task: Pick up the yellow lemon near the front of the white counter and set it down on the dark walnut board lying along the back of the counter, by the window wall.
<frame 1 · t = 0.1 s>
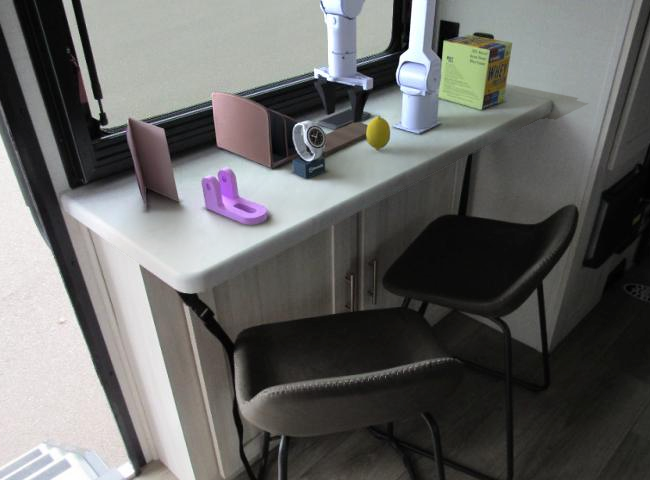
hand: (343, 117, 123), 10 cm above the counter, tool pointing down, fingers open, 7 cm apart
bracket: (239, 212, 111), on the counter
lemon: (377, 150, 134), on the counter
greeting card: (160, 197, 117), on the counter
letter holder: (259, 152, 135), on the counter
cell phone: (344, 120, 150), on the counter
watch: (309, 173, 125), on the counter
protein box: (470, 100, 161), on the counter
back board: (341, 139, 139), on the counter
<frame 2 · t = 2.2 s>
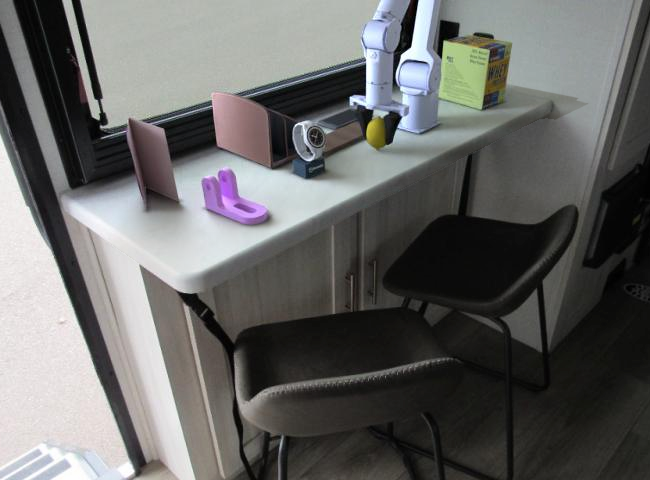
hand: (378, 141, 132), 2 cm above the counter, tool pointing down, fingers closed on lemon, 5 cm apart
lemon: (377, 150, 134), on the counter, touching gripper
everything else where it was.
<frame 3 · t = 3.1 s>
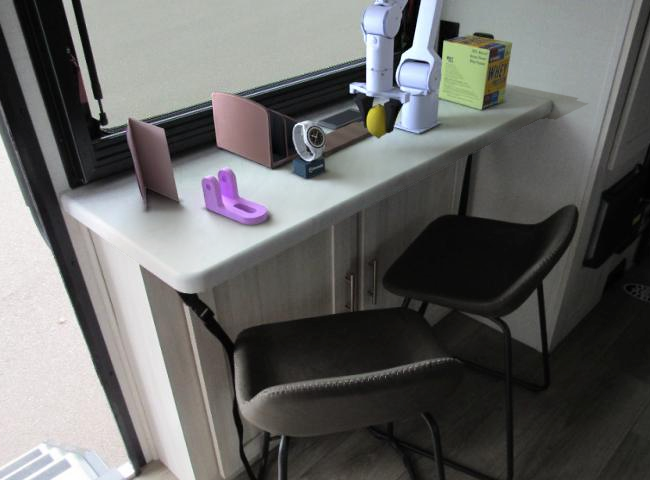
hand: (378, 129, 131), 5 cm above the counter, tool pointing down, fingers closed on lemon, 5 cm apart
lemon: (378, 139, 132), point 3 cm above the counter, touching gripper
everything else where it was.
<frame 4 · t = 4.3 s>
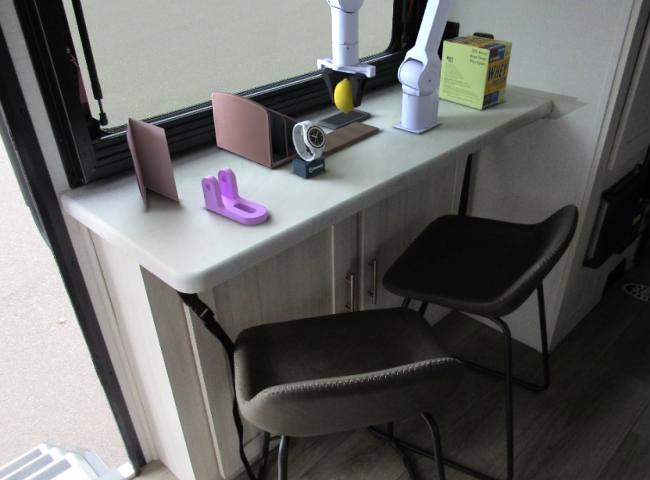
hand: (346, 104, 133), 9 cm above the counter, tool pointing down, fingers closed on lemon, 5 cm apart
lemon: (346, 114, 134), point 7 cm above the counter, touching gripper
everything else where it was.
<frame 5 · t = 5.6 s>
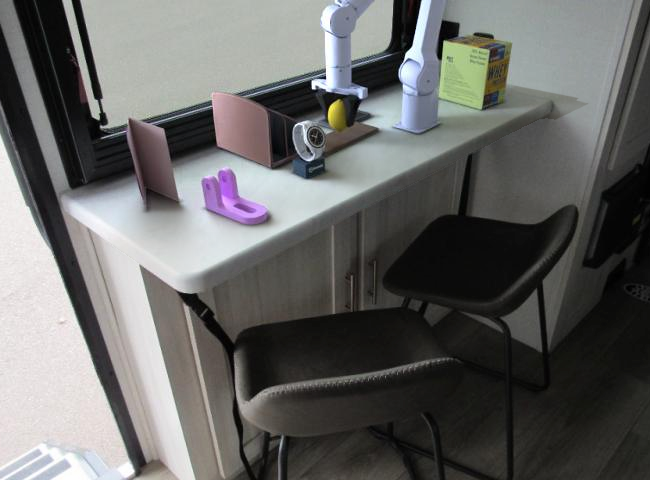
hand: (339, 123, 137), 4 cm above the counter, tool pointing down, fingers closed on lemon, 5 cm apart
lemon: (340, 133, 138), point 2 cm above the counter, touching gripper
everything else where it was.
when the fingers open (3 cm above the counter, at t = 6.5 s): lemon stays where it is, resting on back board.
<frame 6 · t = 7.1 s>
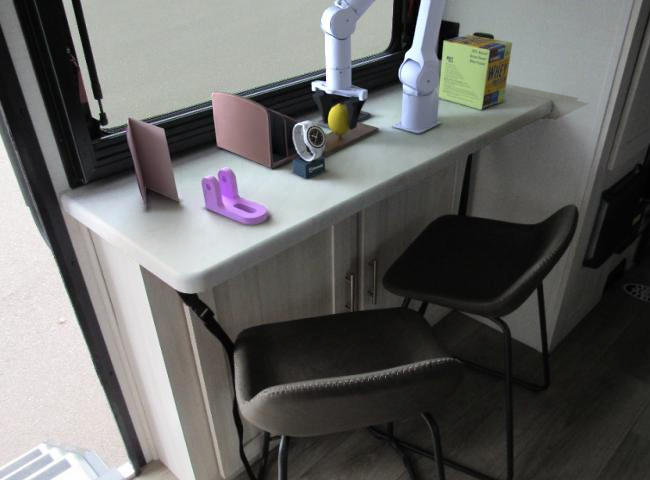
hand: (339, 125, 137), 4 cm above the counter, tool pointing down, fingers open, 7 cm apart
lemon: (340, 137, 139), point 1 cm above the counter, touching back board
everything else where it was.
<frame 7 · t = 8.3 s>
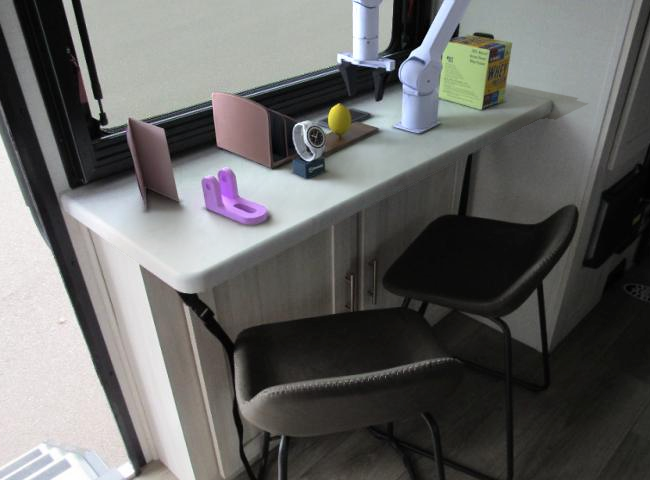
hand: (365, 97, 135), 9 cm above the counter, tool pointing down, fingers open, 7 cm apart
nothing on the counter moved.
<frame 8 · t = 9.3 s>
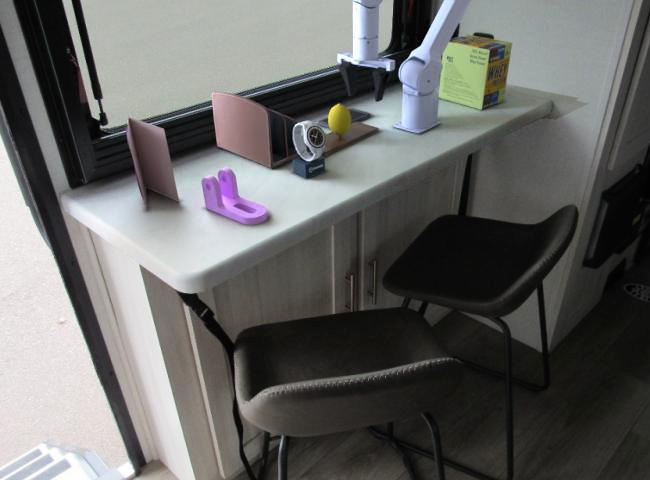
hand: (365, 97, 135), 9 cm above the counter, tool pointing down, fingers open, 7 cm apart
nothing on the counter moved.
at the end: lemon inside the target area on the back board (0.5 cm from its centre), point 0.8 cm above the back board's base; lemon touching back board; the gripper is holding nothing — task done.
